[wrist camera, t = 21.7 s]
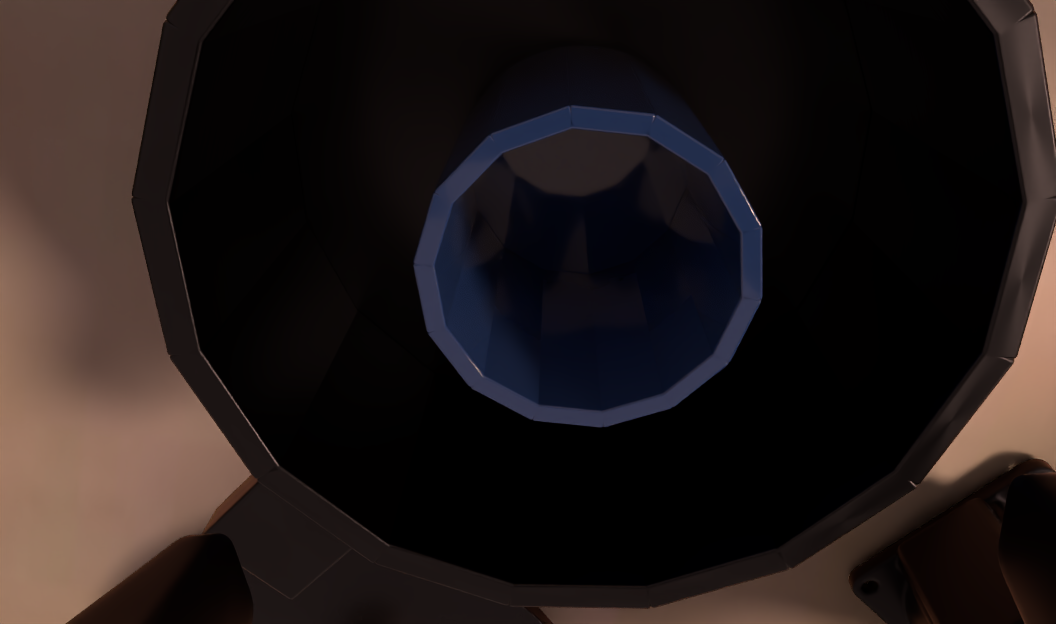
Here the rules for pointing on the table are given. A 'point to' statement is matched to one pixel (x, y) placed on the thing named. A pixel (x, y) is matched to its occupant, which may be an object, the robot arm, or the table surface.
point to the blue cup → (587, 243)
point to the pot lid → (379, 600)
